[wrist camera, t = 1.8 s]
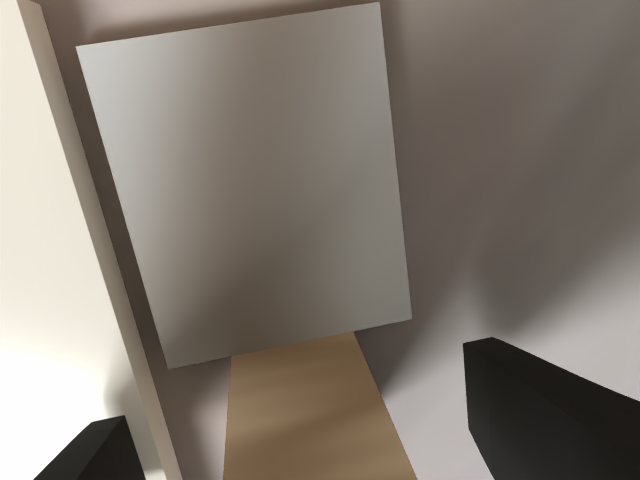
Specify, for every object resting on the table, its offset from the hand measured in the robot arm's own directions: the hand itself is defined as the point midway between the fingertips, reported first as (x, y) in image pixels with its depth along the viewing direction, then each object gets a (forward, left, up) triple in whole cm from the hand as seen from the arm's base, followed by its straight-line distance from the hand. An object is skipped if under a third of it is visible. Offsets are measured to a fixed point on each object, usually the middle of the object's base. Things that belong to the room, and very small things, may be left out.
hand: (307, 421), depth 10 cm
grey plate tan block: (0, 0, -1) cm, 1 cm away
